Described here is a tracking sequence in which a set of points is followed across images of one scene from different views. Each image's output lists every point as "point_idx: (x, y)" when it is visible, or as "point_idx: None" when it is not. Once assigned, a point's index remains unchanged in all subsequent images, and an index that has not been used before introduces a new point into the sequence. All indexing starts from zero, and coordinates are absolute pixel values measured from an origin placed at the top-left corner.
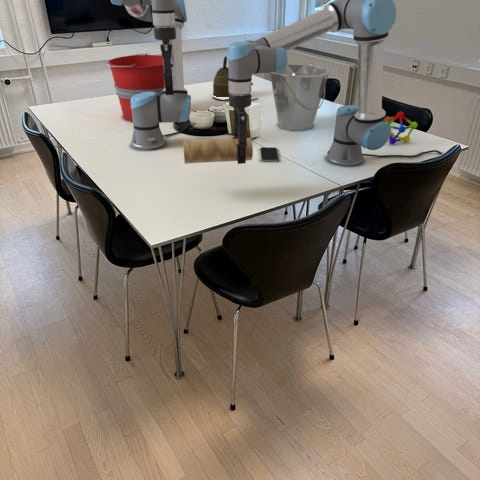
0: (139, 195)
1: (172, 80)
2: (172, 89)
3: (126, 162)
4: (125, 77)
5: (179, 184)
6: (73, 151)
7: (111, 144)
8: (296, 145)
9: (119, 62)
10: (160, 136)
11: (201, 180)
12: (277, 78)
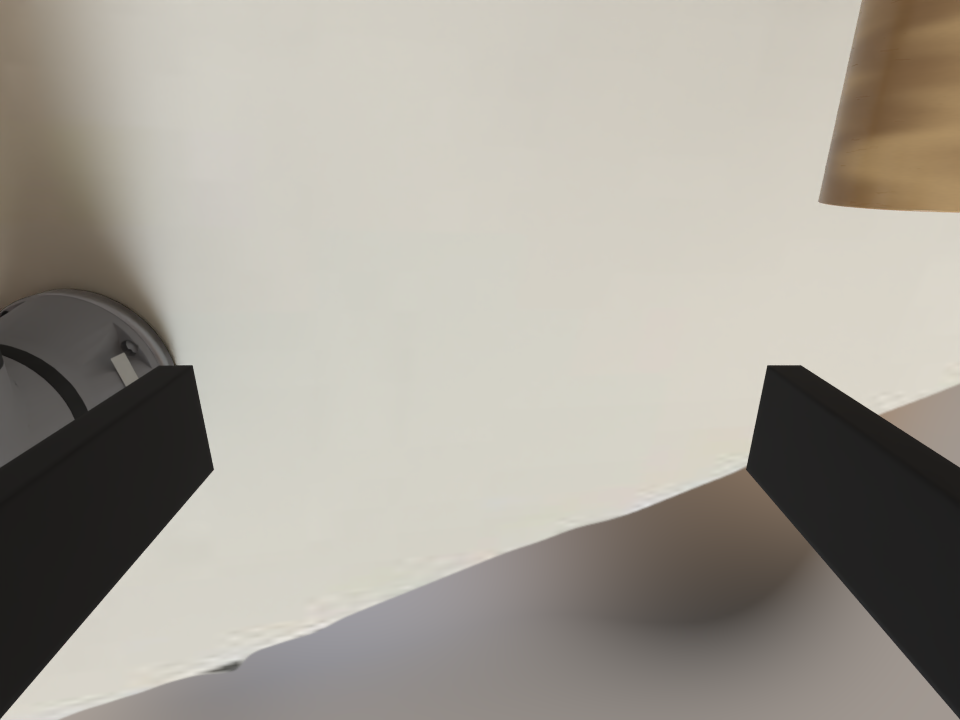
0: (698, 389)
1: (139, 405)
2: (850, 410)
3: (337, 457)
4: None
5: (629, 219)
6: (210, 651)
7: None
8: None
9: None
10: (69, 323)
11: (605, 99)
12: None
